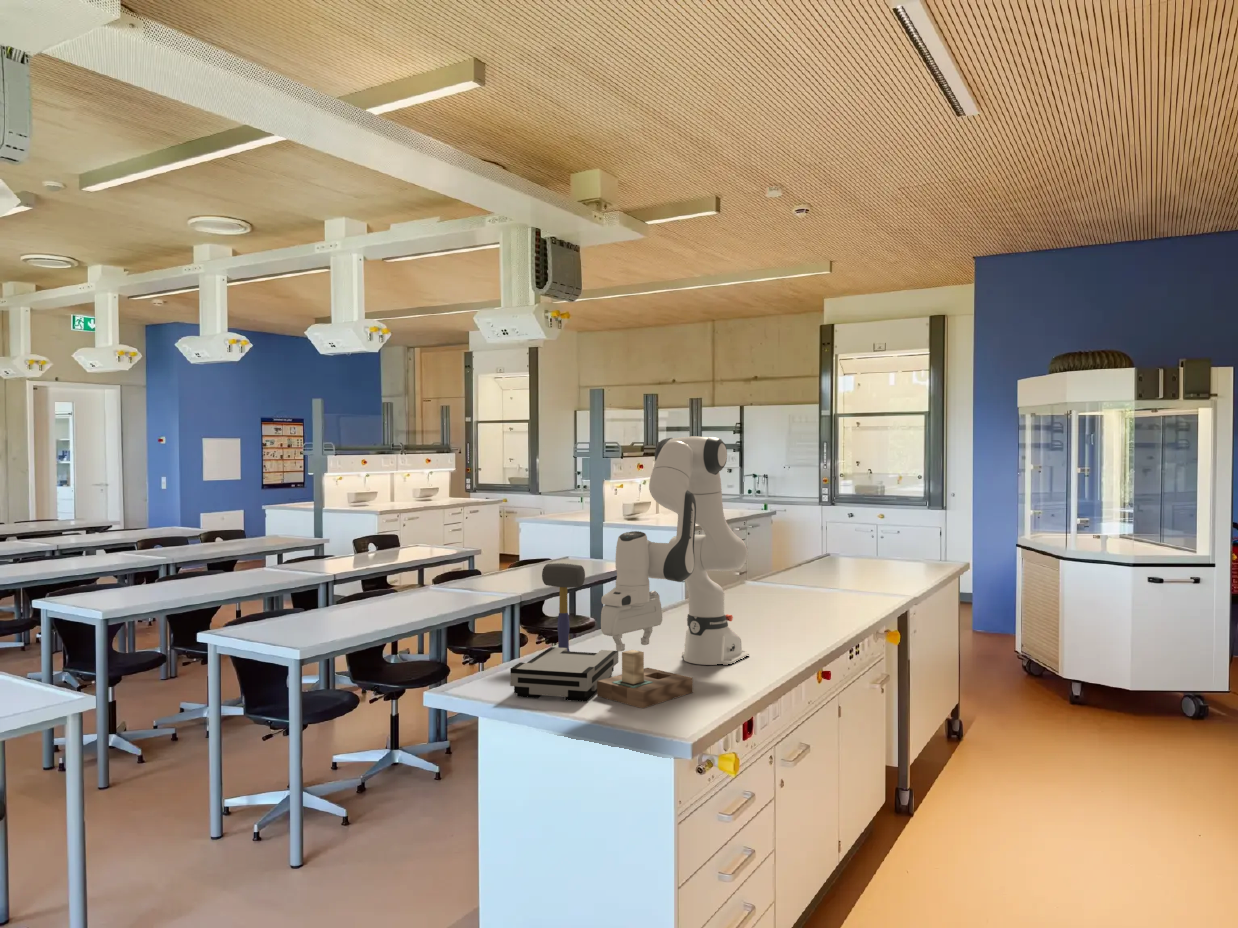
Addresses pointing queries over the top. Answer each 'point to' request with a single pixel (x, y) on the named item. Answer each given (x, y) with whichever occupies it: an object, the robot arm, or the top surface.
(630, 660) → the peg
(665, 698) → the board
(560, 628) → the rubber mallet
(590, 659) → the game console
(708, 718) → the top surface
